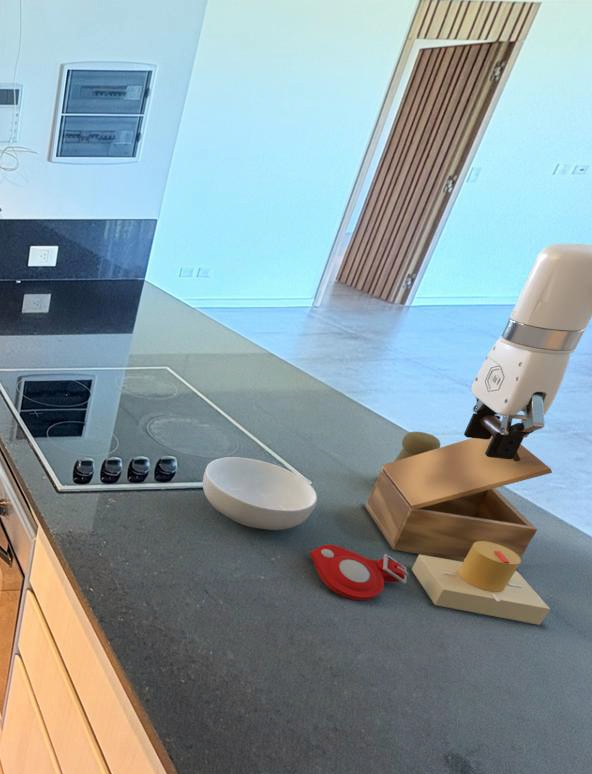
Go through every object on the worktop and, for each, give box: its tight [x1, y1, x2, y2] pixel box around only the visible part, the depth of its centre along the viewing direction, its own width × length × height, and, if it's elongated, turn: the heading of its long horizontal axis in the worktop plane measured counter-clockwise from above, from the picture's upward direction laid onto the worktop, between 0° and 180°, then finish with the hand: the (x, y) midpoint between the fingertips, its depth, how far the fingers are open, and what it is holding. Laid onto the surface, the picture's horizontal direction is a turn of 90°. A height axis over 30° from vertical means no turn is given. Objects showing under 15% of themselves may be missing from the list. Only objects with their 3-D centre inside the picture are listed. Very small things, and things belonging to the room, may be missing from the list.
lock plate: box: [411, 554, 551, 626], centre depth 89 cm, size 12×9×3 cm
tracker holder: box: [308, 544, 410, 601], centre depth 93 cm, size 12×4×10 cm
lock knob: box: [459, 541, 522, 592], centre depth 87 cm, size 5×5×5 cm
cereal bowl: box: [202, 456, 318, 531], centre depth 106 cm, size 17×17×7 cm
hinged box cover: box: [381, 415, 553, 509], centre depth 96 cm, size 16×13×6 cm
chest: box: [364, 469, 538, 562], centre depth 101 cm, size 16×13×8 cm
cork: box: [393, 431, 441, 462], centre depth 113 cm, size 6×6×11 cm
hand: (487, 446), depth 94 cm, fingers closed on hinged box cover, 5 cm apart
